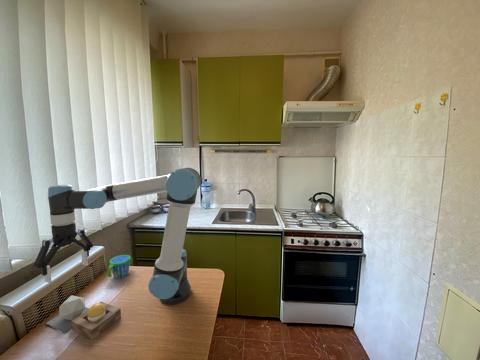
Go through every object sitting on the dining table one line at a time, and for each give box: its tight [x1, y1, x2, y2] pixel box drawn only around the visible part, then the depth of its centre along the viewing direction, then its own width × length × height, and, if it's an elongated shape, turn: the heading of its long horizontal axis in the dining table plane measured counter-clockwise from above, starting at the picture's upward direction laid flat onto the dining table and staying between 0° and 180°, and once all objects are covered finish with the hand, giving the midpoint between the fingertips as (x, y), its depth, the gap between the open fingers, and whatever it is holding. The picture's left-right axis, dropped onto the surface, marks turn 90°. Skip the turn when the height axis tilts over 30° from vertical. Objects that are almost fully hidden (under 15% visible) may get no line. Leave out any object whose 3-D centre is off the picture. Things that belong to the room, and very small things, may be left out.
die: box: [58, 295, 86, 320], centre depth 88 cm, size 8×9×10 cm
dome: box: [88, 302, 106, 323], centre depth 85 cm, size 6×6×7 cm
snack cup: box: [107, 254, 133, 280], centre depth 120 cm, size 16×10×10 cm
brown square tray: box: [71, 301, 122, 341], centre depth 86 cm, size 12×12×4 cm
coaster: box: [45, 306, 90, 334], centre depth 89 cm, size 12×12×1 cm
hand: (68, 272), depth 86 cm, fingers open, 13 cm apart
